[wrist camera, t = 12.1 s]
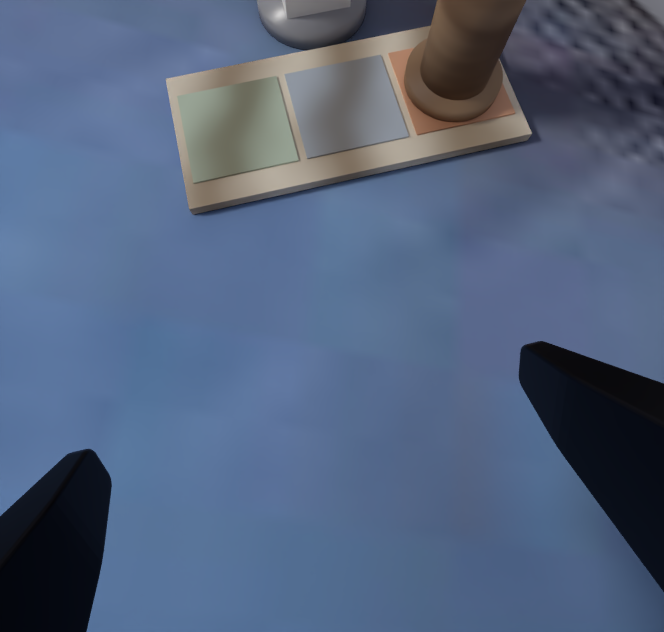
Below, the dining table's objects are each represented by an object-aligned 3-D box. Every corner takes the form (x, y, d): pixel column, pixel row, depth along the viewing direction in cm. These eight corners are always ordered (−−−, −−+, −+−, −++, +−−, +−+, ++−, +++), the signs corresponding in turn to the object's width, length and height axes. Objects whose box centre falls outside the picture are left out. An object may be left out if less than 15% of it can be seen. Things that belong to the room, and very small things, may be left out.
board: (477, 24, 28) (481, 14, 27) (527, 140, 25) (532, 132, 25) (169, 86, 26) (165, 77, 26) (192, 214, 24) (188, 208, 23)
